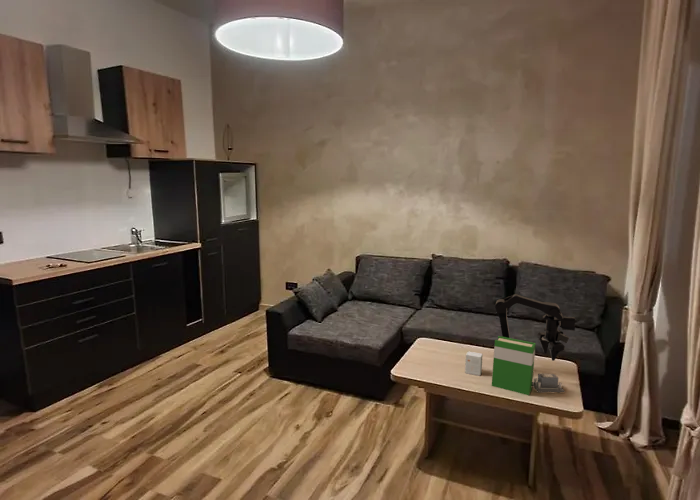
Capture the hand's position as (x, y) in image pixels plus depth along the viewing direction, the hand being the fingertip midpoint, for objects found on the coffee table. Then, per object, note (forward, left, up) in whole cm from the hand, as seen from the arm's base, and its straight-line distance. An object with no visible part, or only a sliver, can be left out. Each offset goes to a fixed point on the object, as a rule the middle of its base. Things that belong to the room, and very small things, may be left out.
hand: (549, 356), depth 225 cm
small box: (-37, +6, -12) cm, 39 cm away
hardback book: (-23, -10, -12) cm, 28 cm away
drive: (-5, -11, -11) cm, 16 cm away
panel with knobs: (-5, -11, -12) cm, 17 cm away
